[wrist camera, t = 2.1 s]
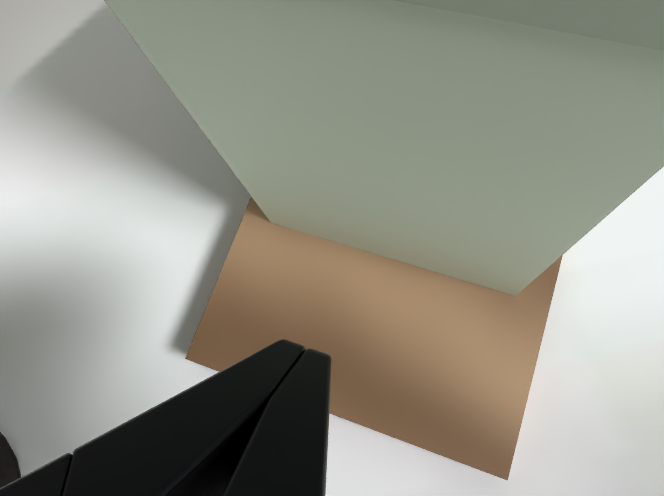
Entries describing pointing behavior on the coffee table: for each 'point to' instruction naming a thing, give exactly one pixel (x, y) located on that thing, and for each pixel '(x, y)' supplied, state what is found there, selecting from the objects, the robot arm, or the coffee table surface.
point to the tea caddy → (423, 118)
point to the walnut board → (385, 337)
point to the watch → (7, 463)
